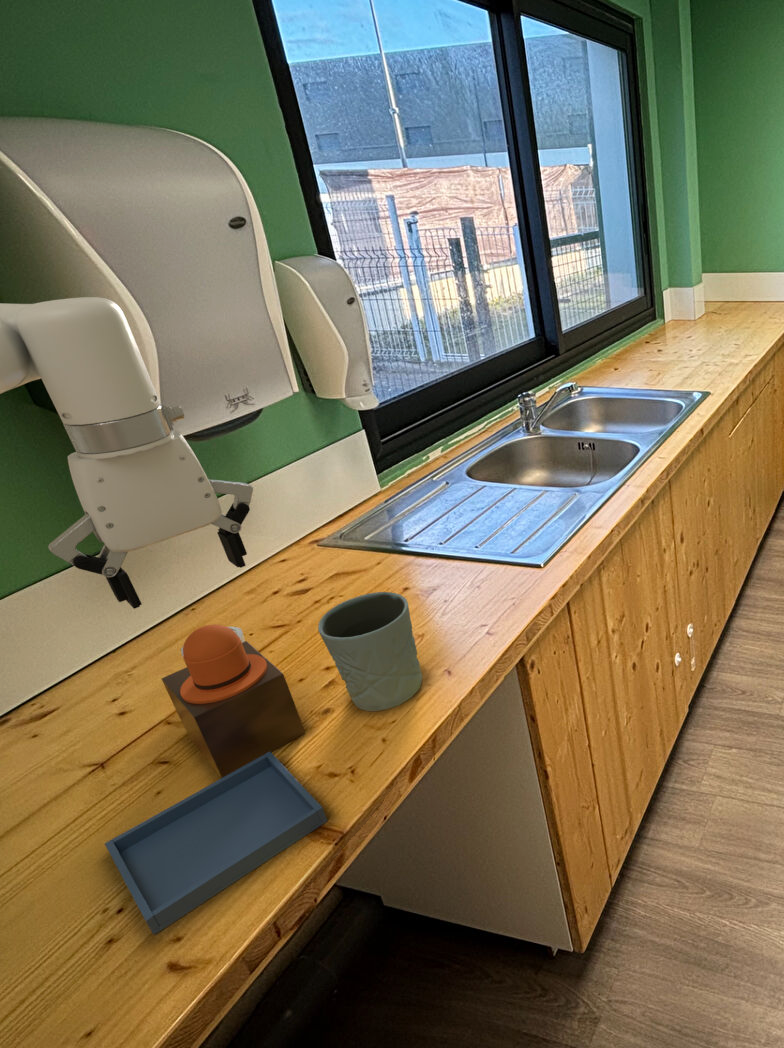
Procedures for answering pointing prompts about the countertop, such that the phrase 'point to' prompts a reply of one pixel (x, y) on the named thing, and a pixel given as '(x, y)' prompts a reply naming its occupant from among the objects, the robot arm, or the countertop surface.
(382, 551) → the countertop surface
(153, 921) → the tray
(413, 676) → the grey-green cup
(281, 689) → the stand block
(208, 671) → the hat
